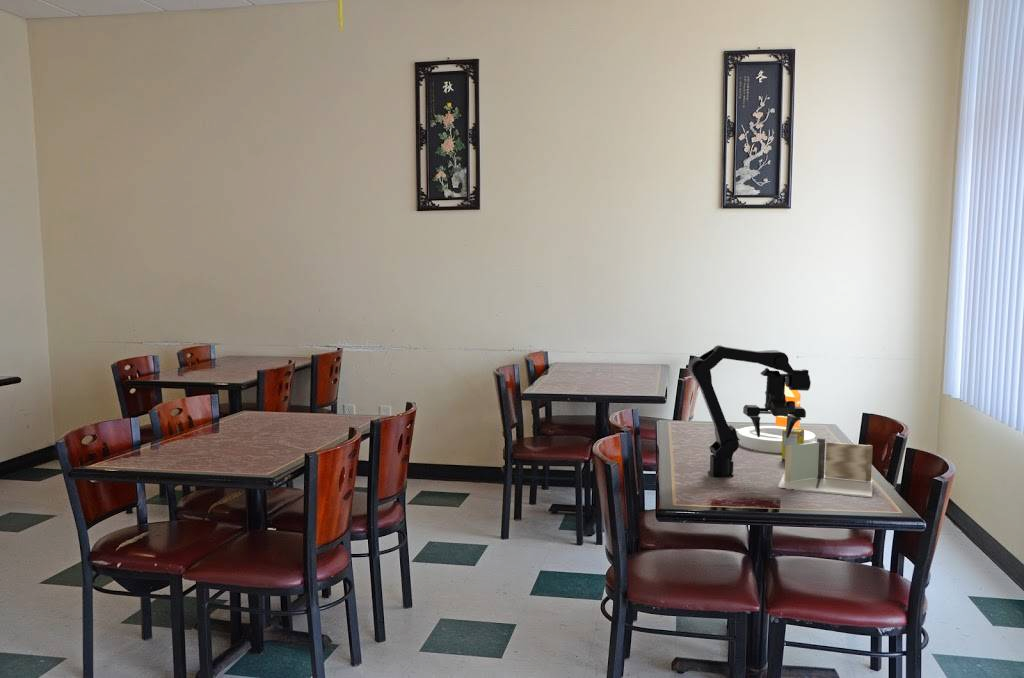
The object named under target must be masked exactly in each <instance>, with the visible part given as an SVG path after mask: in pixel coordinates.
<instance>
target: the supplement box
mask: <svg viewBox="0 0 1024 678" xmlns="http://www.w3.org/2000/svg"><path fill="white" fill-rule="evenodd" d="M804 430H805V429H803V428H802V429H801V428H799V429H795V428H792V430H791V433H790V435H789V437H788V438H786V429H784V430H783V432H782V453H781V462H785V446H787V445H796V444H804Z"/></svg>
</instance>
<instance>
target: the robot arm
mask: <svg viewBox="0 0 1024 678" xmlns="http://www.w3.org/2000/svg"><path fill="white" fill-rule="evenodd" d="M723 359H725V360H733V361H740V362H745V363H746V362H747V363H753V364H758V365H762V366H765V367H766V368H765V369H764V370H762V371H761V372H760V375H761V376H764V377H766V386H765V388H766V389H765V393H764V394H765V403H764V407H760V406H758V405H757V404H745V405H744V406H743V409H742V410H743V411H742V414H743V415H746V417H748V418H750V419H751V422H752V423H753V426H754V427H755V430H756V433H757V436H758V437H760V426H761V425H760V424H761V421H760V420H761V417H760V415H765V414H767V415H768V414H769V415H772V416H774V417H776V416H784V417H787V424H786V438H788V437H789V435H790V433H791V430H792V428H793V426H794V424H795V423H796V422H797V421H798V420H800V421H801V420H802V418H804V419H805V418H806V417H807V411H806V409H805V408H803V407H801V405H800V406H795V402H794V401H786V399H785V398H786V396H785V384H786V387H788V388H789V390H798V391H806V392H807V391H809V390H810V389H811V382H812V381H811V378H810V375H809V374H810V373H809V369H806V368H803V369H793V367H792V366H791V364H790V363H789V357H788V355H787V354H786V353H785V352H782V351H779V350H776V349H773V350H768V349H767V350H758V351H757V350H749V349H742V348H737V347H736V348H735V347H730V346H729V347H728V346H723V345H721V344H720V345H719V344H718V345H716V346H714V347H713V348H711V350H709V351H707V352H705V353H703V354H702V355H700V356H699V357H694V358H692V359H691V360H690V361H689V362H688V365H687V369H688V373H690V375H691V377H692V378H693V379H694V382H695V383H696V384H697V385H698V387H699V389H700V392H701V394H702V398H703V399H704V402H705V405H706V408H707V411H708V413H709V415H710V418H711V421H712V423H713V426H714V436H715V441H714V442H713V443H712V444H711V445H710V446H709V450H710V453H711V454H710V455H709V470H708V471H707V473H709V475H711V476H712V475H713V477H714V476H715V477H716V478H722V476H731V477H734V476H735V475H734V460H733V456H734V453H735V452H737V451H738V448H739V447H740V445H739V442H738V440H739V441H740V439H739V438H738V437H737V433H736V429H737V428H736V427H734V426H732V425H731V424H730V425H729V424H728V423H727V420H726V416H725V414H724V412H723V410H722V407H721V405H720V402H719V400H718V396H717V394H716V391H715V389H714V386H713V382H712V381H713V380H712V379H713V378H712V372H711V371H712V369H713V368H715V367H716V366H717V365H718V364H719V363H720V362H721V361H722V360H723ZM769 368H770V369H774V370H770V369H769ZM780 371H781V372H783V373H781V372H780ZM788 414H789V415H788ZM715 477H714V478H715Z"/></svg>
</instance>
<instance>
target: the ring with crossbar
mask: <svg viewBox="0 0 1024 678" xmlns="http://www.w3.org/2000/svg"><path fill="white" fill-rule="evenodd" d="M735 429H736V433H737V437H738V438H739V439H740V441H739V440H738V442H739V446H740V445H741V447H742V446H743V447H742V448H745V447H747V448H746V449H748V448H750V449H749V450H752V449H753V451H757V450H758V451H759V452H765V453H774V454H775V453H779V454H782V432H783V430H784V429H786V427H781V426H775V425H760V437H758V436H757V433H756V430H755V427H754V425H753V426H746V427H741V428H735ZM795 429H797V428H795ZM816 439H817V438H816V434H815V433H814V432H812V431H809V430H807V429H804V443H811V442H816ZM758 451H757V452H758Z"/></svg>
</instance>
